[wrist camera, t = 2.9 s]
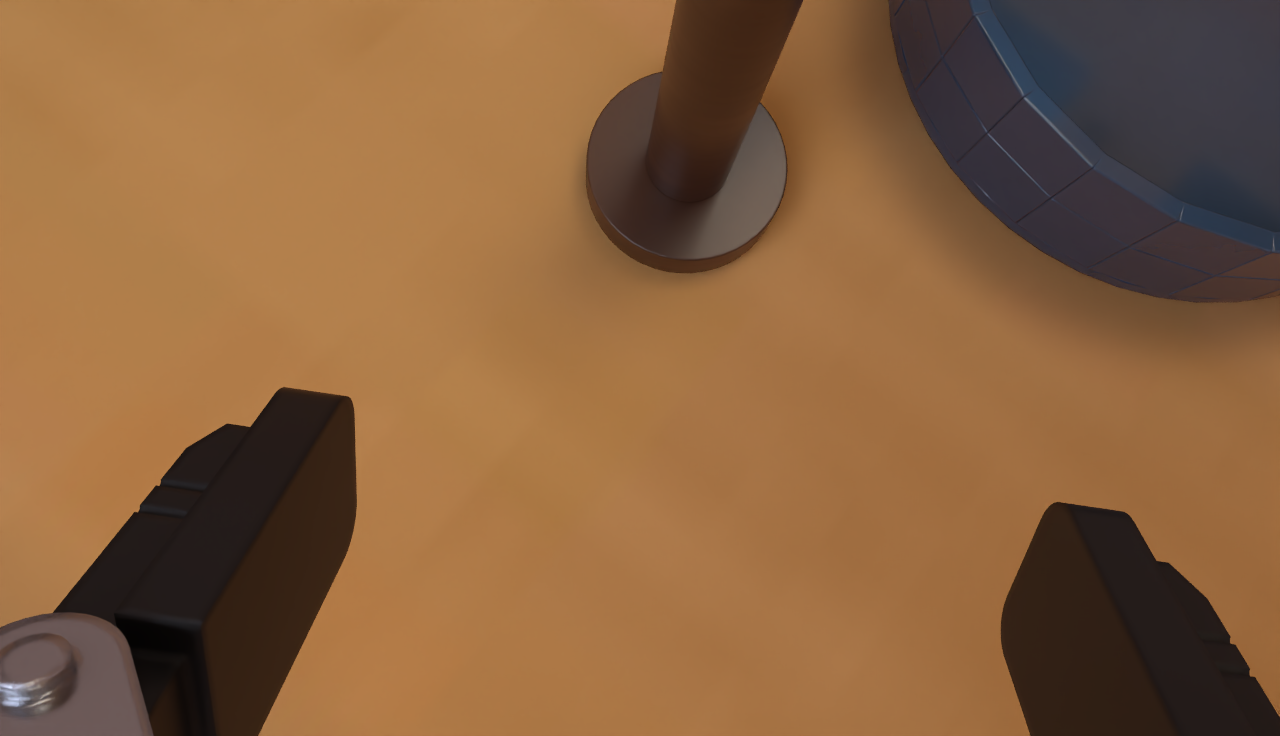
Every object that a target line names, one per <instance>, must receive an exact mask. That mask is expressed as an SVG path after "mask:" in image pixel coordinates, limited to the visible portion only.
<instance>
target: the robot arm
mask: <svg viewBox="0 0 1280 736" xmlns="http://www.w3.org/2000/svg"><path fill="white" fill-rule="evenodd" d="M356 507H357V494H356V456H355V418H354V407H353V403H352V400H351V398H350V397H348V396H341V395H334V394H327V393H320V392H314V391H307V390H300V389H293V388H286V387H283V388H281V389H279V390H278V391H277V392H276V393H275V394H274V396H273V397H272V398H271V400H270V401H269V403H268V404H267V405H266V407H265V408H264V409H263V411H262V412H261V413H260V415H259V416H258V417H257V419H256V420H255V422H254V423H253V424H252V426H251V427H246V426H239V425H233V424H226V425H224V426H222V427H221V428H219V429H217V430H216V431H214V432H212V433H211V434H209V435H207V436H206V437H204V438H202V439H201V440H199V441H197V442H196V443H194V444H192V445H191V446H189V447H187V448H186V449H185V450H184V452H183V453H182V454H181V455H180V457H179V458H178V459H177V460H176V462H175V463H174V464H173V465H172V466H171V468H170V469H169V470H168V471H167V473H166V474H165V475H164V476H163V478H162V479H161V484H160V486H155V487H154V489H153V490H152V491H151V492H150V494H149V495H148V496H147V497H146V499H145V500H144V501H143V502H142V503H141V505H140V510H139V512H138V513H137V512H134V513H133V515H132V516H131V517H130V518H129V520H128V521H127V522H126V523H125V524H124V526H123V527H122V528H121V529H120V531H119V532H118V533H117V534H116V536H115V537H114V538H113V539H112V540H111V542H110V543H109V544H108V545H107V547H106V548H105V549H104V550H103V552H102V553H101V554H100V555H99V557H98V558H97V559H96V560H95V561H94V563H93V564H92V565H91V566H90V568H89V569H88V570H87V571H86V573H85V574H84V575H83V576H82V577H81V579H80V580H79V581H78V582H77V584H76V585H75V586H74V587H73V589H72V590H71V591H70V592H69V593H68V595H67V596H66V597H65V598H64V600H63V601H62V602H61V603H60V605H59V606H58V607H57V608H56V610H55V611H54V612H53V613H50V614H42V615H37V616H33V617H29V618H25V619H22V620H19V621H16V622H13V623H10V624H7V625H5V626H3V627H1V628H0V736H258V735H259V733H260V731H261V729H262V726H263V724H264V722H265V720H266V718H267V716H268V714H269V712H270V710H271V708H272V706H273V704H274V702H275V700H276V698H277V696H278V694H279V692H280V690H281V687H282V685H283V683H284V681H285V679H286V677H287V675H288V673H289V671H290V669H291V667H292V665H293V663H294V661H295V659H296V657H297V655H298V653H299V651H300V649H301V646H302V644H303V642H304V640H305V638H306V636H307V634H308V632H309V630H310V628H311V626H312V624H313V622H314V620H315V618H316V616H317V614H318V612H319V610H320V607H321V605H322V603H323V601H324V599H325V597H326V595H327V593H328V591H329V589H330V587H331V585H332V583H333V581H334V579H335V577H336V575H337V573H338V571H339V568H340V566H341V564H342V562H343V560H344V558H345V556H346V554H347V551H348V548H349V545H350V542H351V538H352V534H353V529H354V524H355V518H356ZM1001 643H1002V649H1003V654H1004V657H1005V660H1006V663H1007V666H1008V669H1009V672H1010V675H1011V678H1012V681H1013V684H1014V687H1015V690H1016V693H1017V696H1018V699H1019V702H1020V705H1021V708H1022V711H1023V714H1024V717H1025V720H1026V723H1027V726H1028V729H1029V732H1030V735H1031V736H1280V717H1279V716H1278V714H1277V712H1276V711H1275V709H1274V707H1273V706H1272V704H1271V703H1270V701H1269V699H1268V698H1267V696H1266V694H1265V693H1264V691H1263V689H1262V688H1261V686H1260V684H1259V683H1258V681H1257V680H1256V678H1255V677H1250V675H1249V670H1250V668H1249V666H1248V665H1247V663H1246V661H1245V660H1244V658H1243V657H1242V655H1241V653H1240V652H1239V650H1238V648H1237V647H1236V645H1234V644H1230V635H1229V634H1228V632H1227V630H1226V629H1225V627H1224V625H1223V624H1222V622H1221V620H1220V619H1219V617H1218V615H1217V614H1216V612H1215V611H1214V609H1213V607H1212V606H1211V604H1210V602H1209V601H1208V599H1207V598H1206V597H1205V596H1204V595H1203V594H1202V593H1201V592H1200V591H1198V590H1197V589H1196V588H1195V587H1194V586H1193V585H1192V584H1191V583H1190V582H1189V581H1188V580H1187V579H1186V578H1184V577H1183V576H1182V575H1181V574H1180V573H1179V572H1178V571H1177V570H1176V569H1175V568H1174V567H1173V566H1172V565H1170V564H1169V563H1166V562H1159V561H1156V559H1155V558H1154V556H1153V554H1152V552H1151V551H1150V549H1149V547H1148V545H1147V544H1146V542H1145V540H1144V538H1143V537H1142V535H1141V533H1140V531H1139V530H1138V528H1137V526H1136V524H1135V523H1134V521H1133V520H1132V518H1131V517H1130V516H1129V515H1128V514H1127V513H1125V512H1123V511H1116V510H1109V509H1102V508H1095V507H1088V506H1081V505H1075V504H1068V503H1061V502H1056V503H1053V504H1052V505H1050V506H1049V507H1048V508H1047V510H1046V511H1045V512H1044V514H1043V516H1042V518H1041V520H1040V523H1039V525H1038V527H1037V529H1036V532H1035V534H1034V536H1033V539H1032V541H1031V543H1030V545H1029V548H1028V550H1027V552H1026V554H1025V557H1024V559H1023V561H1022V564H1021V566H1020V568H1019V570H1018V573H1017V575H1016V577H1015V579H1014V582H1013V584H1012V586H1011V589H1010V591H1009V593H1008V595H1007V598H1006V601H1005V604H1004V607H1003V612H1002V619H1001Z"/></svg>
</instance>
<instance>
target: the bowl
mask: <svg viewBox="0 0 1280 736" xmlns="http://www.w3.org/2000/svg"><path fill="white" fill-rule="evenodd" d="M889 10H890V25H891V30H892V35H893V40H894V45H895V50H896V54H897V59H898V64H899V67H900V70H901V72H902V75H903V78H904V81H905V84H906V87H907V90H908V92H909V95H910V98H911V101H912V103H913V105H914V107H915V109H916V111H917V113H918V115H919V117H920V119H921V121H922V123H923V125H924V127H925V129H926V131H927V133H928V135H929V136H930V138H931V139H932V141H933V142H934V144H935V145H936V147H937V148H938V150H939V151H940V153H941V154H942V156H943V157H944V159H945V160H946V162H947V163H948V165H949V166H950V168H951V169H952V170H953V171H954V173H955V174H956V175H957V176H958V177H959V178H960V180H961V181H962V182H963V183H964V184H965V185H966V186H967V188H968V189H969V190H970V191H971V192H972V193H973V195H974V196H975V197H976V198H977V199H978V200H979V201H980V202H981V203H982V204H983V205H984V206H985V207H986V208H988V209H989V210H990V211H991V212H992V213H993V214H994V215H995V216H996V217H997V218H998V219H1000V220H1001V221H1002V222H1003V223H1004V224H1005V225H1006V226H1007V227H1008V228H1010V229H1011V230H1013V231H1014V232H1015V233H1017V234H1018V235H1020V236H1021V237H1022V238H1024V239H1025V240H1027V241H1028V242H1029V243H1031V244H1032V245H1034V246H1035V247H1036V248H1038V249H1039V250H1041V251H1042V252H1044V253H1046V254H1047V255H1049V256H1051V257H1053V258H1055V259H1057V260H1058V261H1060V262H1062V263H1064V264H1066V265H1067V266H1069V267H1071V268H1073V269H1075V270H1077V271H1078V272H1081V273H1083V274H1086V275H1088V276H1091V277H1093V278H1096V279H1098V280H1101V281H1104V282H1106V283H1109V284H1111V285H1114V286H1116V287H1119V288H1123V289H1127V290H1131V291H1135V292H1139V293H1142V294H1146V295H1150V296H1154V297H1158V298H1166V299H1174V300H1182V301H1189V302H1242V301H1250V300H1257V299H1264V298H1271V297H1276V296H1280V0H889Z"/></svg>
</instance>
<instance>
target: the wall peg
mask: <svg viewBox="0 0 1280 736" xmlns="http://www.w3.org/2000/svg"><path fill="white" fill-rule="evenodd" d="M802 2H803V0H676V4H675V10H674V15H673V20H672V25H671V30H670V36H669V41H668V46H667V51H666V56H665V61H664V67H663V72H659V73H655V74H652V75H649V76H646V77H644V78H641V79H639V80H637V81H636V82H634V83H632V84H630V85H629V86H627V87H626V88H624V89H623V90H622V91H620V92H619V93H618V94H617V95H616V96H615V97H614V98H613V99H612V100H611V101H610V102H609V103H608V104H607V106H606V107H605V108H604V109H603V111H602V112H601V114H600V116H599V117H598V119H597V121H596V123H595V125H594V127H593V130H592V132H591V136H590V139H589V143H588V150H587V160H586V187H587V194H588V199H589V202H590V206H591V209H592V211H593V214H594V216H595V218H596V220H597V222H598V224H599V225H600V227H601V228H602V230H603V231H604V233H605V234H606V235H607V236H608V238H609V239H610V240H611V241H612V242H613V243H614V244H615V245H616V246H617V247H618V248H619V249H620V250H622V251H623V252H624V253H626V254H627V255H628V256H630V257H631V258H633V259H635V260H637V261H639V262H640V263H642V264H645V265H647V266H650V267H652V268H656V269H659V270H663V271H668V272H676V273H695V272H703V271H707V270H711V269H715V268H718V267H720V266H723V265H725V264H728V263H730V262H731V261H733V260H735V259H737V258H738V257H740V256H741V255H742V254H744V253H745V252H746V251H748V250H749V249H750V248H751V247H752V246H753V245H754V244H755V243H756V242H757V241H758V239H759V238H760V237H761V235H762V234H763V233H764V231H765V230H766V228H767V227H768V225H769V223H770V222H771V220H772V219H773V217H774V215H775V213H776V211H777V210H778V208H779V206H780V203H781V200H782V198H783V195H784V191H785V187H786V181H787V157H786V151H785V146H784V143H783V140H782V137H781V134H780V132H779V130H778V127H777V125H776V123H775V122H774V120H773V118H772V117H771V115H770V114H769V112H768V111H767V110H766V109H765V107H764V106H763V105H762V104H761V103H760V100H761V98H762V96H763V93H764V91H765V89H766V86H767V84H768V82H769V79H770V77H771V75H772V72H773V70H774V68H775V65H776V63H777V61H778V58H779V56H780V54H781V51H782V49H783V47H784V44H785V42H786V40H787V37H788V35H789V33H790V30H791V28H792V26H793V23H794V21H795V19H796V16H797V14H798V12H799V9H800V7H801V5H802Z"/></svg>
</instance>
